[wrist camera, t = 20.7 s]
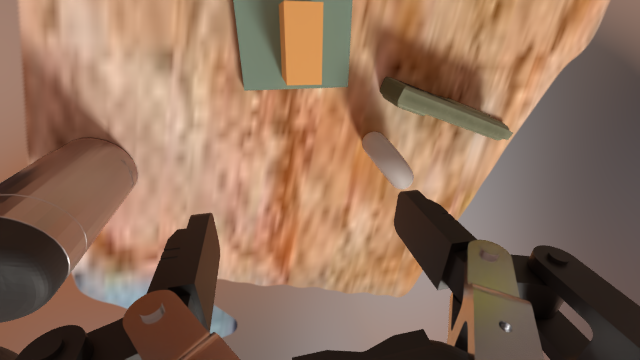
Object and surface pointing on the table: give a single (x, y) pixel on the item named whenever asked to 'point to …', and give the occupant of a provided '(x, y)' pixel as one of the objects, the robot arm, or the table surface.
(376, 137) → the donut
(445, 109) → the handheld radio
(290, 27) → the orange block
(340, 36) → the green mat
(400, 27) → the table surface
